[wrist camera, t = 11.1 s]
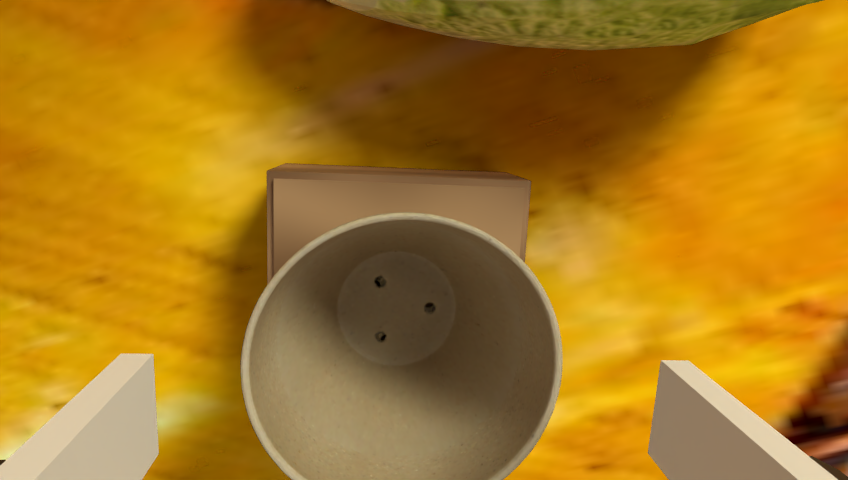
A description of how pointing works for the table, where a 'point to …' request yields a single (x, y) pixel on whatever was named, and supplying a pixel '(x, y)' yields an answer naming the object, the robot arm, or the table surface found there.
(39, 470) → the robot arm
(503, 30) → the lettuce
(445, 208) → the walnut block
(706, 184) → the table surface
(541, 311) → the flower pot
